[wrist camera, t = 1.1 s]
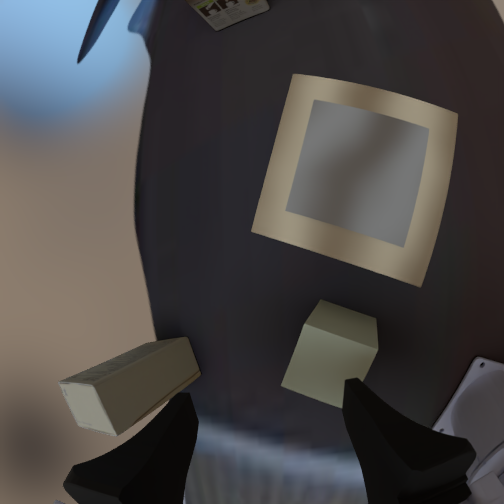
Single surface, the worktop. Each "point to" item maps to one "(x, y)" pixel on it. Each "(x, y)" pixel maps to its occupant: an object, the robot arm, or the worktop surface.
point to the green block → (331, 352)
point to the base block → (359, 176)
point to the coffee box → (227, 10)
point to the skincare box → (130, 385)
